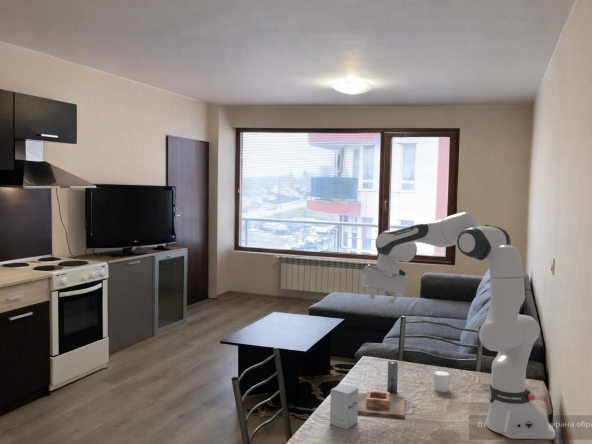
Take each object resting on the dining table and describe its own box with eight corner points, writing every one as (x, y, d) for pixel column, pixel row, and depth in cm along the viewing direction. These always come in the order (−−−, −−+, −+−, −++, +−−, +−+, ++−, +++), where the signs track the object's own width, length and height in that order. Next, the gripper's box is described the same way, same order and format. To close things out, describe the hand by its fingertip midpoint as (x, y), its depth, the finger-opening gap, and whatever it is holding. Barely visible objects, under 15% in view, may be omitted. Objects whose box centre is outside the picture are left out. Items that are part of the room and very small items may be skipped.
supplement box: (347, 429, 184) (347, 393, 183) (329, 424, 188) (329, 388, 188) (358, 422, 190) (359, 387, 189) (340, 417, 194) (341, 383, 194)
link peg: (397, 390, 222) (397, 361, 221) (397, 393, 218) (397, 364, 217) (387, 389, 223) (388, 360, 222) (387, 392, 219) (387, 363, 218)
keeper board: (404, 399, 211) (404, 389, 211) (404, 418, 194) (404, 407, 194) (353, 395, 215) (354, 385, 215) (349, 413, 198) (349, 402, 198)
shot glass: (451, 392, 220) (452, 375, 219) (435, 392, 220) (435, 375, 219) (447, 386, 226) (448, 370, 226) (431, 386, 227) (431, 370, 226)
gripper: (367, 262, 224) (362, 294, 220) (410, 274, 230) (406, 306, 226) (361, 264, 230) (356, 296, 226) (403, 276, 235) (399, 307, 231)
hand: (381, 301), depth 226 cm, fingers open, 8 cm apart
